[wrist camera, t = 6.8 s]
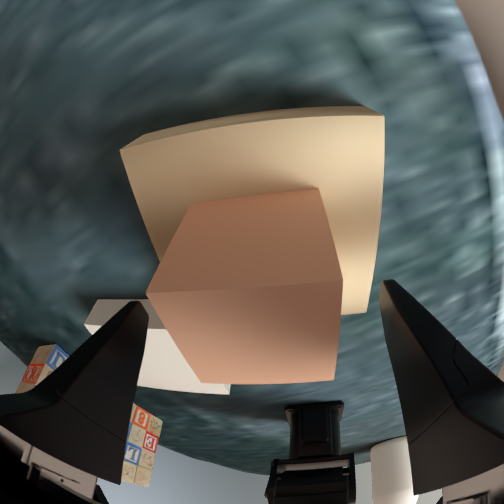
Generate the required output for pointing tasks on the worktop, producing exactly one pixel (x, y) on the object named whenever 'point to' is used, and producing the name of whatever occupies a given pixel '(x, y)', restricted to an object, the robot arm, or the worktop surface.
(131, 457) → the stack of blocks
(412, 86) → the worktop surface
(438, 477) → the robot arm
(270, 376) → the terracotta cube
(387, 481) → the wine bottle
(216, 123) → the birch slab
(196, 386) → the white plastic slab
